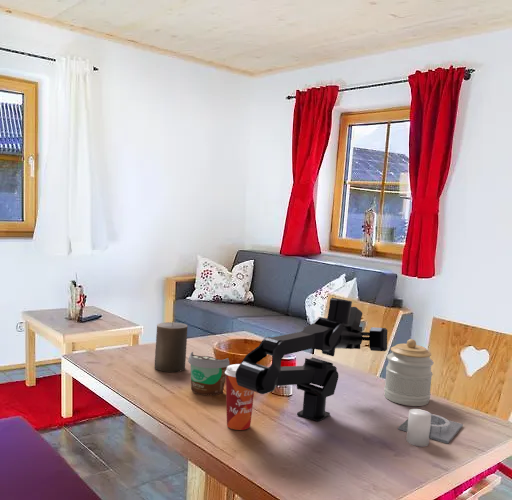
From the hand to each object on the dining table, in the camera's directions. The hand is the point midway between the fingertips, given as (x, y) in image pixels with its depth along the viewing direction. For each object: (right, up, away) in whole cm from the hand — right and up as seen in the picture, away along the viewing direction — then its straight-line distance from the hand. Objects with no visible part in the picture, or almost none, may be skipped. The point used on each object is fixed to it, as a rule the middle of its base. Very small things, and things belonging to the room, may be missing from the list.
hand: (369, 338), depth 156 cm
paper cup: (-37, -16, -28) cm, 49 cm away
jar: (+11, -18, 0) cm, 21 cm away
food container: (-48, -14, -6) cm, 50 cm away
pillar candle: (-60, -12, +14) cm, 63 cm away
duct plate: (+11, -19, -20) cm, 30 cm away
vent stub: (+5, -19, -30) cm, 36 cm away
